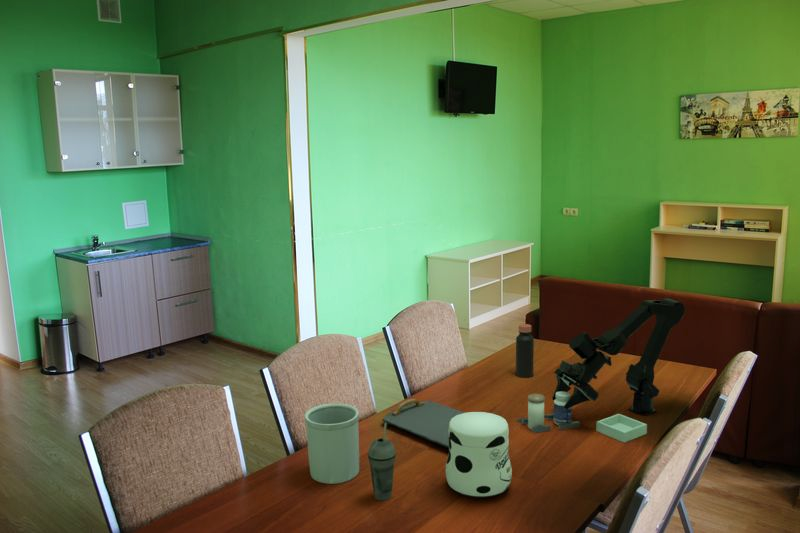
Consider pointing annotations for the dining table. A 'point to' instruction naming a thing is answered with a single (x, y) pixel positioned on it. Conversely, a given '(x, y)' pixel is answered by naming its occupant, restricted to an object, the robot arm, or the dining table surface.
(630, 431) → the tray
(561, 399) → the pill bottle
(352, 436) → the utensil holder
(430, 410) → the serving board
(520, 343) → the black water bottle
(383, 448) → the beverage cup
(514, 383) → the dining table surface
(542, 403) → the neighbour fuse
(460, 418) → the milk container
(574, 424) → the set of grey bars
